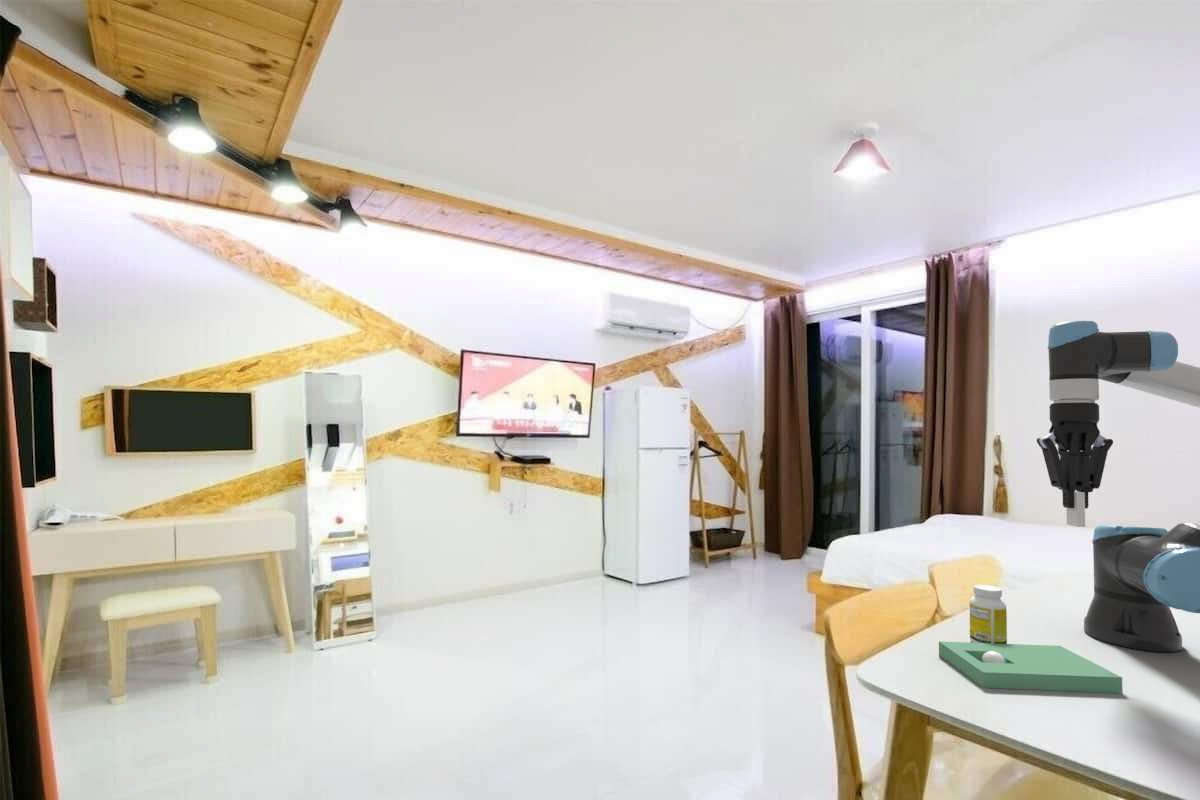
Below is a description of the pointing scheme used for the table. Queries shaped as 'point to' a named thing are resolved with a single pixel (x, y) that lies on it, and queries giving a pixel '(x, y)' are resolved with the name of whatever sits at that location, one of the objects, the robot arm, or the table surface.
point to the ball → (993, 657)
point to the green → (1030, 667)
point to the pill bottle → (988, 616)
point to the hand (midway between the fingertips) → (1075, 525)
